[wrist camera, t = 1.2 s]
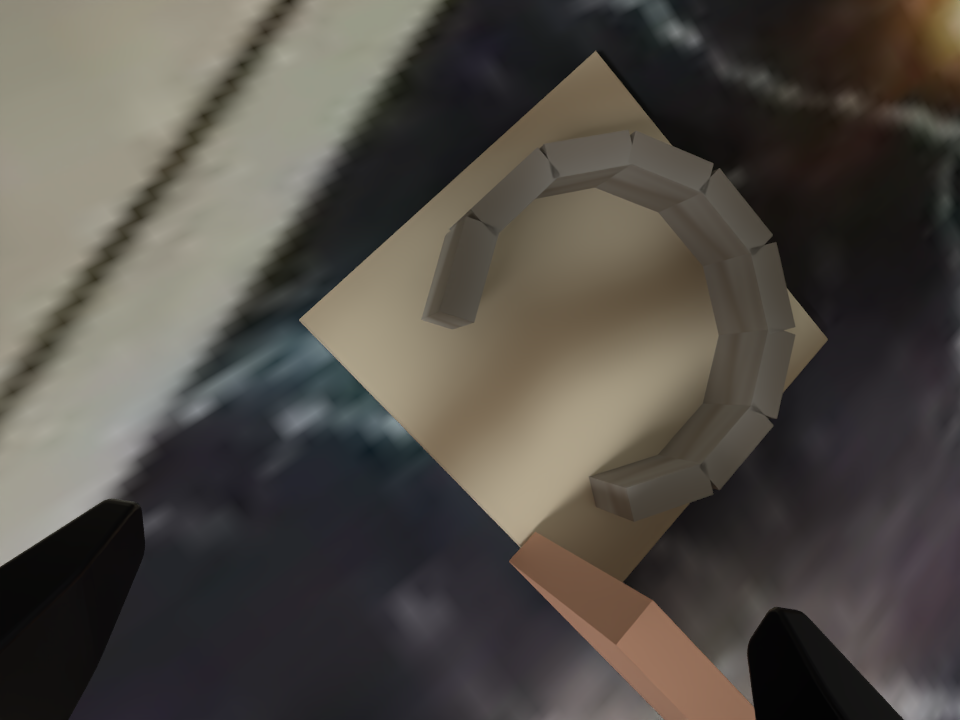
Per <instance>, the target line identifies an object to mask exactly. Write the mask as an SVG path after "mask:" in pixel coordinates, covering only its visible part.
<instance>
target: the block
mask: <svg viewBox="0 0 960 720" xmlns="http://www.w3.org/2000/svg"><path fill="white" fill-rule="evenodd" d="M509 562H510V563H511V564H512V565H513V566H514V567H515V568H516V569H517V570H518V571H519V572H520V573H521V574H522V575H523V576H524V577H525V578H526V579H527V580H528V581H529V582H530V583H531V584H532V585H533V586H534V587H535V588H536V589H537V590H538V591H539V592H540V593H541V595H542V596H543V597H544V598H545V599H546V600H547V601H548V602H549V603H550V604H551V605H552V606H553V607H554V608H555V609H556V610H557V611H558V612H559V613H560V614H561V615H562V616H563V617H564V618H565V619H566V620H567V621H568V622H569V623H570V624H571V625H572V626H573V627H574V628H575V629H576V630H577V631H578V632H579V633H580V634H581V635H582V636H583V637H584V638H585V639H586V640H587V641H588V642H589V643H590V644H591V645H592V646H593V647H594V648H595V649H596V650H597V651H598V652H599V653H600V655H601V656H602V657H603V658H604V659H605V660H606V661H607V662H608V663H609V664H610V665H611V666H612V667H613V668H614V669H615V670H616V671H617V672H618V673H619V674H620V675H621V676H622V677H623V678H624V679H625V680H626V681H627V682H628V683H629V684H630V685H631V686H632V687H633V688H634V689H635V690H636V691H637V692H638V693H639V694H640V695H641V696H642V697H643V698H644V699H645V700H646V701H647V702H648V703H649V704H650V705H651V706H652V707H653V708H654V709H655V710H656V711H657V712H658V714H659V715H660V716H661V717H662V718H663V719H664V720H756V719H755V711H754V707H753V706H752V705H751V704H750V703H749V702H748V700H747V699H746V698H745V697H744V696H743V695H742V694H741V693H740V692H739V691H738V690H737V689H736V688H735V687H734V686H733V685H732V684H731V682H730V681H729V680H728V679H727V678H726V677H725V676H724V675H723V674H722V673H721V672H720V671H719V670H718V669H717V668H716V667H715V666H714V664H713V663H712V662H711V661H710V660H709V659H708V658H707V657H706V656H705V655H704V654H703V653H702V652H701V651H700V650H699V649H698V648H697V646H696V645H695V644H694V643H693V642H692V641H691V640H690V639H689V638H688V637H687V636H686V635H685V634H684V633H683V632H682V631H681V630H680V628H679V627H678V626H677V625H676V624H675V623H674V622H673V621H672V620H671V619H670V618H669V617H668V616H667V615H666V614H665V613H664V612H663V610H662V609H661V608H660V607H659V606H658V605H657V604H656V603H655V602H654V601H653V600H652V599H650V598H648V597H646V596H645V595H643V594H641V593H640V592H638V591H636V590H634V589H633V588H631V587H629V586H628V585H626V584H624V583H622V582H621V581H619V580H617V579H616V578H614V577H612V576H610V575H609V574H607V573H605V572H603V571H602V570H600V569H598V568H597V567H595V566H593V565H591V564H590V563H588V562H586V561H585V560H583V559H581V558H579V557H578V556H576V555H574V554H573V553H571V552H569V551H567V550H566V549H564V548H562V547H561V546H559V545H557V544H555V543H554V542H552V541H550V540H549V539H547V538H545V537H543V536H542V535H540V534H538V533H537V532H535V533H534V534H533V535H532V536H531V537H530V538H529V539H528V541H527V542H526V543H525V544H524V545H523V546H522V547H521V548H520V549H519V551H518V552H517V553H516V554H515V555H514V556H513V557H512V558H511V559H510V560H509Z"/></svg>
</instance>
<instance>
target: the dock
mask: <svg viewBox="0 0 960 720" xmlns="http://www.w3.org/2000/svg"><path fill="white" fill-rule="evenodd" d="M713 164H714V163H711V162H709V161H707V160H704V159H702V158H700V157H697V156H695V155H693V154H690V153H688V152H685V151H683V150H681V149H678V148H676V147H674V146H672V145H671V144H670V143H669V141H668V140H667V139H666V138H665V136H664V135H663V134H662V133H661V131H660V130H659V129H658V128H657V126H656V125H655V124H654V123H653V121H652V120H651V119H650V118H649V116H648V115H647V114H646V113H645V111H644V110H643V109H642V108H641V107H640V105H639V104H638V103H637V102H636V100H635V99H634V98H633V97H632V95H631V94H630V93H629V92H628V90H627V89H626V88H625V87H624V85H623V84H622V83H621V82H620V80H619V79H618V78H617V77H616V75H615V74H614V73H613V72H612V71H611V69H610V68H609V67H608V66H607V64H606V63H605V62H604V61H603V59H602V58H601V57H600V56H599V54H598V53H597V52H596V51H595V52H594V53H593V54H592V55H591V56H590V57H589V58H587V59H586V60H585V61H584V62H583V63H582V64H581V65H580V66H579V67H577V68H576V69H575V70H574V71H573V72H572V73H571V74H570V75H569V76H568V77H566V78H565V79H564V80H563V81H562V82H561V83H560V84H559V85H558V86H557V87H555V88H554V89H553V90H552V91H551V92H550V93H549V94H548V95H547V96H545V97H544V98H543V99H542V100H541V101H540V102H539V103H538V104H537V105H536V106H534V107H533V108H532V109H531V110H530V111H529V112H528V113H527V114H526V115H525V116H523V117H522V118H521V119H520V120H519V121H518V122H517V123H516V124H515V125H513V126H512V127H511V128H510V129H509V130H508V131H507V132H506V133H505V134H504V135H502V136H501V137H500V138H499V139H498V140H497V141H496V142H495V143H494V144H493V145H491V146H490V147H489V148H488V149H487V150H486V151H485V152H484V153H483V154H481V155H480V156H479V157H478V158H477V159H476V160H475V161H474V162H473V163H472V164H470V165H469V166H468V167H467V168H466V169H465V170H464V171H463V172H462V173H460V174H459V175H458V176H457V177H456V178H455V179H454V180H453V181H452V182H451V183H449V184H448V185H447V186H446V187H445V188H444V189H443V190H442V191H441V192H440V193H438V194H437V195H436V196H435V197H434V198H433V199H432V200H431V201H430V202H428V203H427V204H426V205H425V206H424V207H423V208H422V209H421V210H420V211H419V212H417V213H416V214H415V215H414V216H413V217H412V218H411V219H410V220H409V221H408V222H406V223H405V224H404V225H403V226H402V227H401V228H400V229H399V230H398V231H396V232H395V233H394V234H393V235H392V236H391V237H390V238H389V239H388V240H387V241H385V242H384V243H383V244H382V245H381V246H380V247H379V248H378V249H377V250H375V251H374V252H373V253H372V254H371V255H370V256H369V257H368V258H367V259H366V260H364V261H363V262H362V263H361V264H360V265H359V266H358V267H357V268H356V269H355V270H353V271H352V272H351V273H350V274H349V275H348V276H347V277H346V278H345V279H343V280H342V281H341V282H340V283H339V284H338V285H337V286H336V287H335V288H334V289H332V290H331V291H330V292H329V293H328V294H327V295H326V296H325V297H324V298H323V299H321V300H320V301H319V302H318V303H317V304H316V305H315V306H314V307H313V308H311V309H310V310H309V311H308V312H307V313H306V314H305V315H304V316H303V317H302V318H300V320H299V321H300V322H301V323H302V324H303V325H304V326H305V327H306V328H307V329H308V330H309V331H310V332H311V333H312V334H313V335H314V336H315V337H316V338H317V339H318V340H319V341H320V342H321V343H322V344H323V345H324V346H325V348H326V349H327V350H328V351H329V352H330V353H331V354H332V355H333V356H334V357H335V358H336V359H337V360H338V361H339V362H340V363H341V364H342V365H343V366H344V367H345V368H346V369H347V370H348V371H349V372H350V373H351V374H352V375H353V376H354V377H355V378H356V379H357V380H358V381H359V382H360V383H361V384H362V385H363V387H364V388H365V389H366V390H367V391H368V392H369V393H370V394H371V395H372V396H373V397H374V398H375V399H376V400H377V401H378V402H379V403H380V404H381V405H382V406H383V407H384V408H385V409H386V410H387V411H388V412H389V413H390V414H391V415H392V416H393V417H394V418H395V419H396V420H397V421H398V422H399V423H400V424H401V426H402V427H403V428H404V429H405V430H406V431H407V432H408V433H409V434H410V435H411V436H412V437H413V438H414V439H415V440H416V441H417V442H418V443H419V444H420V445H421V446H422V447H423V448H424V449H425V450H426V451H427V452H428V453H429V454H430V455H431V456H432V457H433V458H434V459H435V460H436V461H437V462H438V463H439V465H440V466H441V467H442V468H443V469H444V470H445V471H446V472H447V473H448V474H449V475H450V476H451V477H452V478H453V479H454V480H455V481H456V482H457V483H458V484H459V485H460V486H461V487H462V488H463V489H464V490H465V491H466V492H467V493H468V494H469V495H470V496H471V497H472V498H473V499H474V500H475V501H476V502H477V504H478V505H479V506H480V507H481V508H482V509H483V510H484V511H485V512H486V513H487V514H488V515H489V516H490V517H491V518H492V519H493V520H494V521H495V522H496V523H497V524H498V525H499V526H500V527H501V528H502V529H503V530H504V531H505V532H506V533H507V534H508V535H509V536H510V537H511V538H512V539H513V540H514V541H515V543H516V544H517V545H518V546H519V547H520V548H521V547H522V546H523V545H524V544H525V543H526V542H527V541H528V539H529V538H530V537H531V536H532V535H533V534H534V533H535V532H537V533H538V534H540V535H542V536H543V537H545V538H547V539H549V540H550V541H552V542H554V543H555V544H557V545H559V546H561V547H562V548H564V549H566V550H567V551H569V552H571V553H573V554H574V555H576V556H578V557H579V558H581V559H583V560H585V561H586V562H588V563H590V564H591V565H593V566H595V567H597V568H598V569H600V570H602V571H603V572H605V573H607V574H609V575H610V576H612V577H614V578H616V579H617V580H619V581H621V582H622V583H623V581H624V580H625V579H626V578H627V577H628V576H629V574H630V573H631V572H632V571H633V570H634V568H635V567H636V566H637V565H638V564H639V562H640V561H641V560H642V559H643V558H644V557H645V555H646V554H647V553H648V552H649V551H650V549H651V548H652V547H653V546H654V545H655V544H656V542H657V541H658V540H659V539H660V538H661V536H662V535H663V534H664V533H665V532H666V531H667V529H668V528H669V527H670V526H671V525H672V523H673V522H674V521H675V520H676V519H677V518H678V516H679V515H680V514H681V513H682V512H683V510H684V509H685V508H686V507H687V506H688V505H689V503H690V502H693V501H696V500H699V499H702V498H705V497H708V496H711V495H714V494H713V490H712V489H716V490H720V489H721V488H722V487H723V486H724V484H725V483H726V482H727V481H728V480H729V478H730V477H731V476H732V475H733V474H734V472H735V471H736V470H737V469H738V468H739V466H740V465H741V464H742V463H743V462H744V460H745V459H746V458H747V457H748V456H749V455H750V453H751V452H752V451H753V450H754V449H755V447H756V446H757V445H758V444H759V443H760V441H761V440H762V439H763V438H764V437H765V435H766V434H767V433H768V432H769V431H770V429H771V428H772V427H773V426H774V425H773V424H772V423H771V422H770V421H769V420H768V418H771V419H777V416H778V412H779V407H780V403H781V398H782V394H783V392H784V391H785V390H786V389H787V387H788V386H789V385H790V384H791V383H792V382H793V380H794V379H795V378H796V377H797V376H798V374H799V373H800V372H801V371H802V370H803V369H804V367H805V366H806V365H807V364H808V363H809V361H810V360H811V359H812V358H813V357H814V356H815V354H816V353H817V352H818V351H819V350H820V348H821V347H822V346H823V345H824V344H825V343H826V341H827V340H828V339H827V338H826V336H825V335H824V334H823V333H822V331H821V330H820V329H819V328H818V326H817V325H816V324H815V323H814V321H813V320H812V319H811V318H810V316H809V315H808V314H807V313H806V311H805V310H804V309H803V308H802V306H801V305H800V304H799V303H798V301H797V300H796V299H795V298H794V297H793V295H792V294H791V293H790V292H789V290H788V289H787V287H786V282H785V278H784V274H783V269H782V265H781V260H780V256H779V252H778V247H777V243H776V242H775V243H771V244H766V242H767V241H768V240H769V239H770V238H771V237H772V236H773V234H772V233H771V232H770V231H769V229H768V228H767V227H766V226H765V224H764V223H763V222H762V221H761V219H760V218H759V217H758V216H757V214H756V213H755V212H754V211H753V209H752V208H751V207H750V206H749V204H748V203H747V202H746V201H745V199H744V198H743V197H742V196H741V194H740V193H739V192H738V191H737V189H736V188H735V187H734V185H733V184H732V183H731V182H730V180H729V179H728V178H727V177H726V175H725V174H724V173H723V172H722V170H721V169H720V168H719V169H717V170H715V171H712V168H713ZM765 244H766V245H765Z"/></svg>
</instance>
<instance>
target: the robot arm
mask: <svg viewBox="0 0 960 720" xmlns="http://www.w3.org/2000/svg"><path fill="white" fill-rule="evenodd" d="M144 550H145V537H144V527H143V517H142V510H141V507H140V505H139V504H138V503H136V502H131V501H125V500H119V499H107V500H105V501H103V502H101V503H99V504H98V505H96V506H95V507H93V508H91V509H90V510H88V511H87V512H85V513H84V514H82V515H81V516H79V517H77V518H76V519H74V520H73V521H71V522H70V523H68V524H66V525H65V526H63V527H62V528H60V529H59V530H57V531H56V532H54V533H52V534H51V535H49V536H48V537H46V538H45V539H43V540H41V541H40V542H38V543H37V544H35V545H34V546H32V547H31V548H29V549H27V550H26V551H24V552H23V553H21V554H20V555H18V556H16V557H15V558H13V559H12V560H10V561H9V562H7V563H6V564H4V565H2V566H1V567H0V720H68V719H69V718H70V716H71V714H72V712H73V710H74V709H75V707H76V705H77V703H78V701H79V700H80V698H81V696H82V694H83V692H84V690H85V689H86V687H87V685H88V683H89V681H90V679H91V677H92V675H93V673H94V671H95V670H96V668H97V666H98V663H99V661H100V659H101V657H102V654H103V652H104V650H105V647H106V645H107V643H108V640H109V638H110V635H111V633H112V631H113V628H114V626H115V624H116V621H117V619H118V616H119V614H120V612H121V609H122V607H123V604H124V602H125V600H126V597H127V595H128V592H129V590H130V588H131V585H132V583H133V580H134V578H135V576H136V573H137V571H138V568H139V566H140V564H141V561H142V558H143V555H144ZM747 657H748V665H749V673H750V680H751V688H752V696H753V703H754V711H755V719H756V720H903V718H902V717H901V716H900V715H899V714H898V713H897V712H896V711H895V710H894V709H893V708H892V707H891V706H890V705H889V703H888V702H887V701H886V700H885V699H884V698H883V697H882V696H881V695H880V694H879V693H878V692H877V691H876V690H875V688H874V687H873V686H872V685H871V684H870V683H869V682H868V681H867V680H866V679H865V678H864V677H863V676H862V675H861V673H860V672H859V671H858V670H857V669H856V668H855V667H854V666H853V665H852V664H851V663H850V662H849V661H848V660H847V658H846V657H845V656H844V655H843V654H842V653H841V652H840V651H839V650H838V649H837V648H836V647H835V646H834V645H833V643H832V642H831V641H830V640H829V639H828V638H827V637H826V636H825V635H824V634H823V633H822V632H821V631H820V630H819V628H818V627H817V626H816V625H815V624H814V623H813V622H812V621H811V620H810V619H809V618H808V617H807V616H806V615H805V614H804V613H802V612H801V611H798V610H793V609H787V608H781V607H774V608H772V609H770V610H769V611H768V612H767V614H766V615H765V617H764V619H763V620H762V622H761V623H760V625H759V626H758V628H757V629H756V631H755V632H754V634H753V636H752V637H751V639H750V641H749V644H748V650H747Z"/></svg>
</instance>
